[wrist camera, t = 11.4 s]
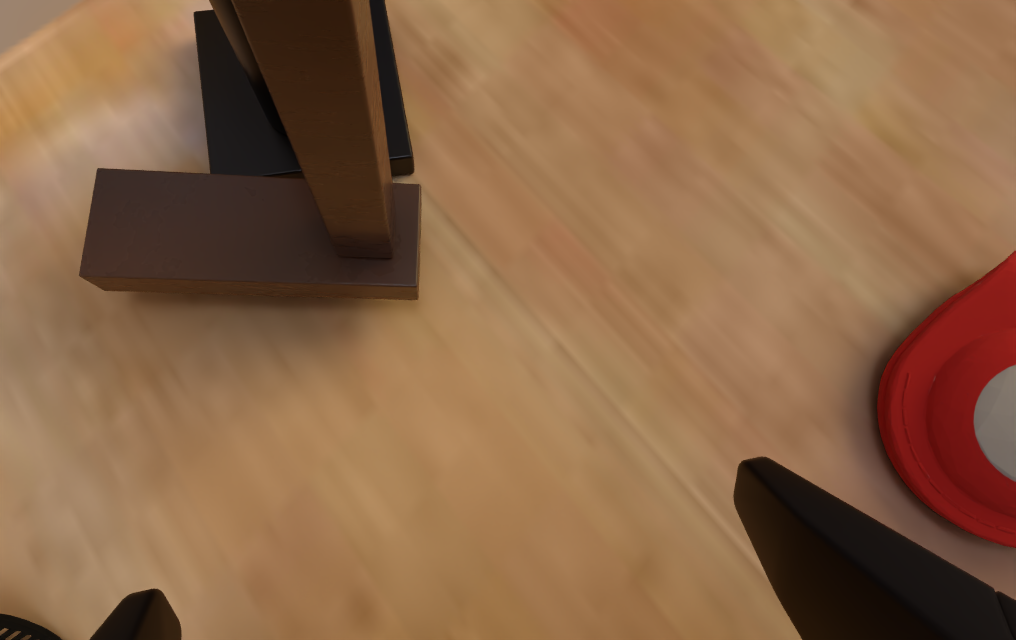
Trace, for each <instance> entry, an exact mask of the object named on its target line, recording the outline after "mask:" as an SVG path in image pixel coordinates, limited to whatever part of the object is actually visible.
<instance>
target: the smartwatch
mask: <svg viewBox="0 0 1016 640" xmlns="http://www.w3.org/2000/svg"><path fill="white" fill-rule="evenodd" d="M4 628H7V629H9V630H7V631H6V632H5V633H3V634H2V635H1V636H0V640H5V639H6V638H7V637H9V636H10V635H11V634H13V633H14V632H16V631H21V633H19V634H18V635H17V636H15V637H14V638H12V639H11V640H21V639H22V638H23V637H25V636H26V635H31V636H32V637H31V638H29V639H28V640H62V639H61V638H60V637H59V636H57V635H56V634H54V633H53V632H51V631H49V630H48V629H46V628H44V627H42V626H40V625H37V624H35V623H32V622H30V621H28V620H25V619H21V618H18V617H14V616H11V615H5V614H0V631H1V630H2V629H4Z"/></svg>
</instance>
